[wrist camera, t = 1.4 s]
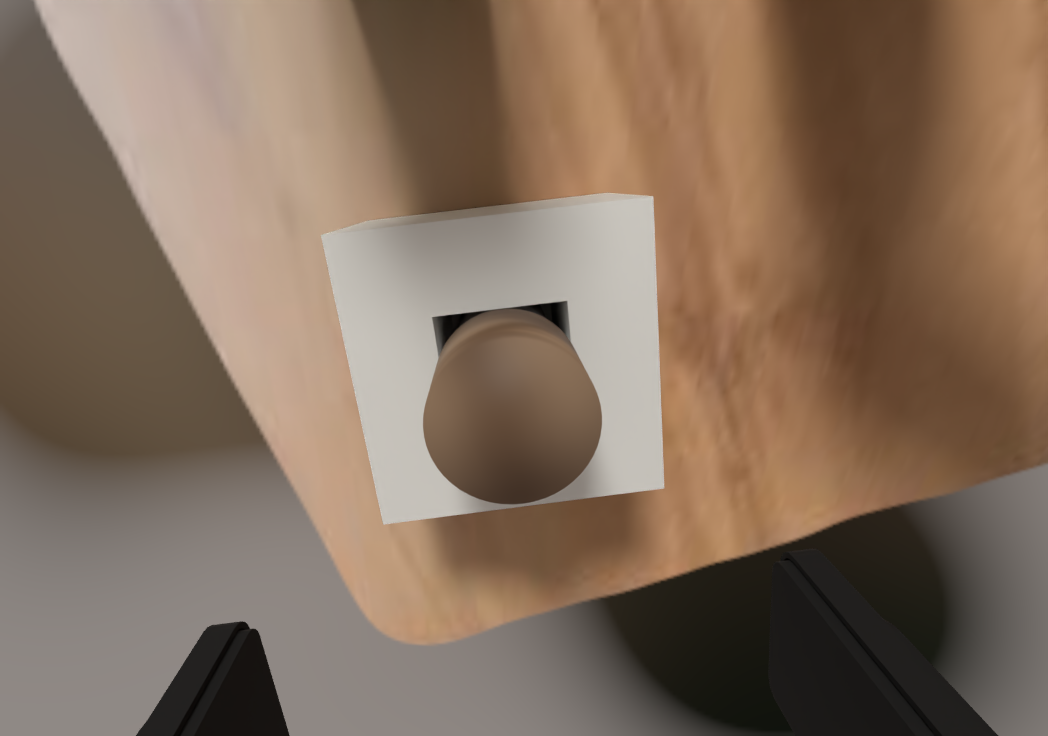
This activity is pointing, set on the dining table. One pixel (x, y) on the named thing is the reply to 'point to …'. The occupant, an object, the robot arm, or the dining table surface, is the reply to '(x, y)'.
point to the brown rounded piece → (511, 407)
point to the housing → (495, 283)
